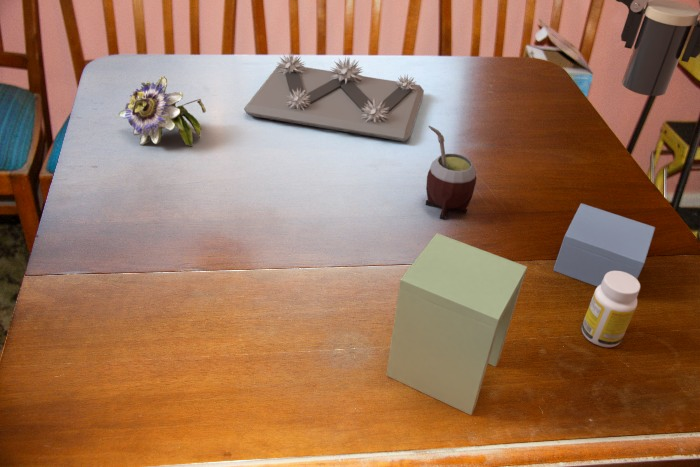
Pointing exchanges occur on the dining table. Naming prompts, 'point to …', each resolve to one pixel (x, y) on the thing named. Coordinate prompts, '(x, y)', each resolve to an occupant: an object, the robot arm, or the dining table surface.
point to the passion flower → (159, 113)
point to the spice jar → (659, 46)
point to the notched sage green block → (452, 320)
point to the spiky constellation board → (338, 100)
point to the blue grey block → (602, 245)
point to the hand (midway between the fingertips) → (657, 52)
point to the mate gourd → (450, 181)
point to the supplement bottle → (611, 309)
